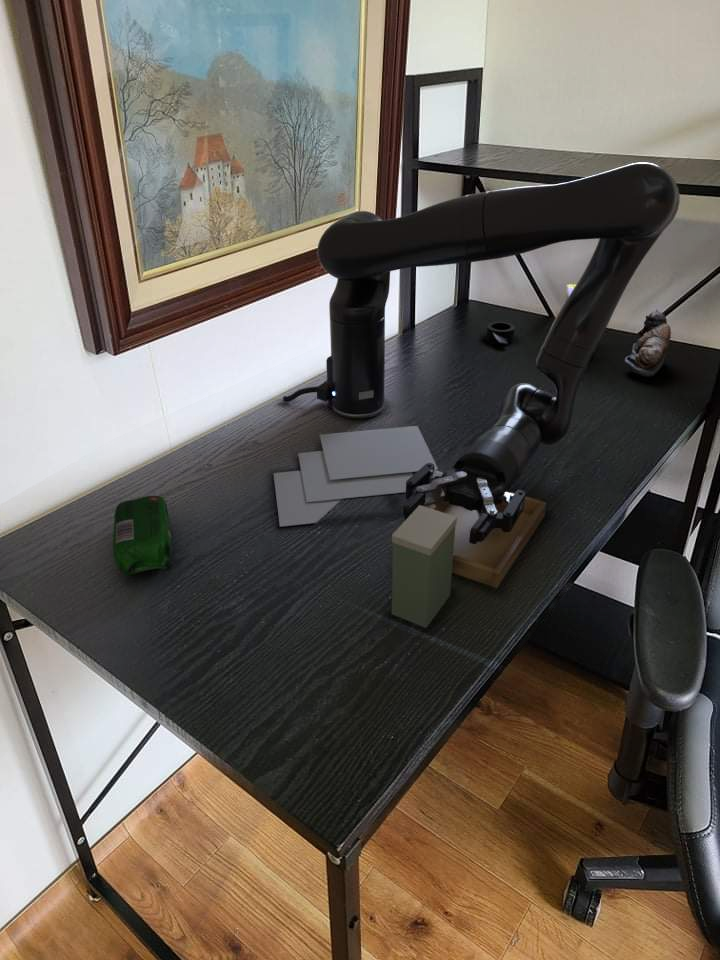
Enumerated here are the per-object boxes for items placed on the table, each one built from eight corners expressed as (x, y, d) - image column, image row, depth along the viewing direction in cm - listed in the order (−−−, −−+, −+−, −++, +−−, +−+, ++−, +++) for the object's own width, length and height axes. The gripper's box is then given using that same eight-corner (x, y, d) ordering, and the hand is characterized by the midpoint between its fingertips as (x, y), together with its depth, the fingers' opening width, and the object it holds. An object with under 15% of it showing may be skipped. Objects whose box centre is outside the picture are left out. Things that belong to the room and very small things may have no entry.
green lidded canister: (390, 615, 86) (391, 535, 79) (416, 583, 91) (419, 504, 84) (426, 630, 84) (430, 549, 77) (451, 596, 89) (457, 516, 82)
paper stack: (454, 508, 104) (455, 504, 104) (279, 526, 101) (279, 522, 100) (417, 429, 123) (417, 425, 123) (269, 442, 120) (269, 439, 120)
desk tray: (399, 554, 96) (399, 539, 94) (456, 489, 108) (457, 475, 107) (496, 590, 90) (498, 574, 88) (544, 517, 102) (546, 502, 101)
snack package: (118, 595, 90) (110, 562, 87) (119, 521, 102) (112, 491, 99) (177, 584, 91) (171, 552, 88) (170, 513, 104) (165, 483, 101)
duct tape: (526, 335, 157) (528, 323, 156) (505, 351, 151) (506, 337, 149) (494, 328, 161) (495, 315, 160) (472, 342, 154) (473, 329, 153)
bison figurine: (658, 384, 137) (670, 333, 131) (619, 377, 140) (630, 327, 134) (665, 360, 146) (677, 311, 140) (629, 354, 149) (639, 306, 143)
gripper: (446, 425, 98) (386, 483, 87) (548, 453, 92) (498, 519, 81) (443, 472, 102) (386, 533, 91) (540, 502, 96) (492, 571, 85)
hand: (439, 526), depth 86 cm, fingers open, 8 cm apart
